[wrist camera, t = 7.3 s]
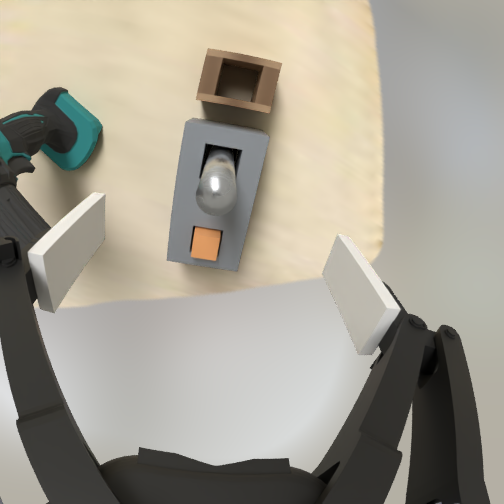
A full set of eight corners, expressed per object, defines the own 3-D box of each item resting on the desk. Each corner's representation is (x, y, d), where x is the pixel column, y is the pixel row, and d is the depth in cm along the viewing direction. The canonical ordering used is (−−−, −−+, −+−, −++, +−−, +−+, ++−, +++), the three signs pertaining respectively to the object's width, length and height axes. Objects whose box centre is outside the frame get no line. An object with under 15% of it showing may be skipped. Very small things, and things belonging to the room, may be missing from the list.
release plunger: (196, 228, 41) (190, 256, 34) (199, 208, 40) (194, 234, 33) (217, 231, 41) (215, 260, 35) (221, 212, 40) (220, 238, 33)
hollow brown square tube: (200, 99, 33) (195, 99, 28) (210, 56, 30) (207, 48, 25) (262, 111, 34) (269, 113, 29) (273, 68, 31) (282, 63, 26)
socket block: (175, 235, 42) (166, 260, 36) (193, 117, 34) (185, 121, 28) (235, 245, 43) (237, 271, 37) (262, 130, 35) (269, 137, 29)
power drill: (157, 168, 37) (72, 271, 15) (120, 214, 39) (36, 338, 18) (38, 64, 26) (-95, 76, 5) (10, 114, 29) (-113, 159, 7)
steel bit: (208, 161, 37) (192, 212, 21) (212, 139, 36) (199, 173, 20) (230, 165, 38) (232, 219, 22) (235, 144, 36) (240, 181, 21)
